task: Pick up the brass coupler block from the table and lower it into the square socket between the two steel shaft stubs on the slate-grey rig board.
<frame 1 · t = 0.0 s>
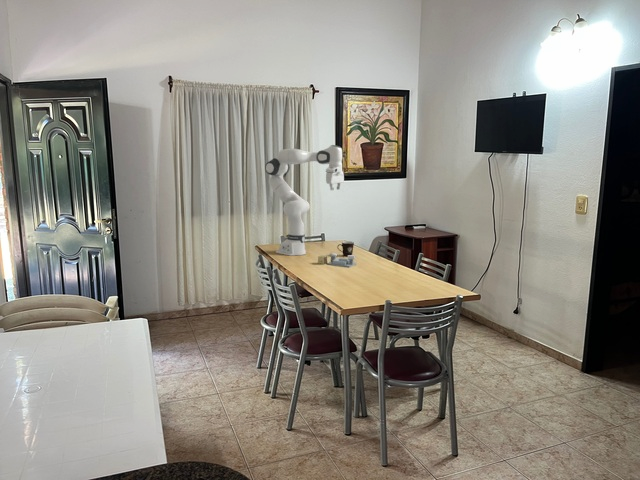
hand: (335, 189, 341), 48 cm above the table, fingers open, 8 cm apart
coupler: (322, 263, 332), on the table
coffee mug: (345, 256, 358), on the table
shaft rig: (341, 264, 331), on the table
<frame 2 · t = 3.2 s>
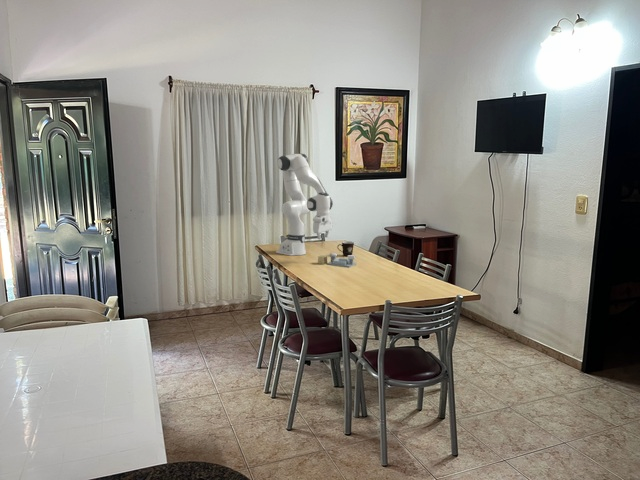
hand: (322, 238, 329), 17 cm above the table, fingers open, 8 cm apart
nothing on the table moved.
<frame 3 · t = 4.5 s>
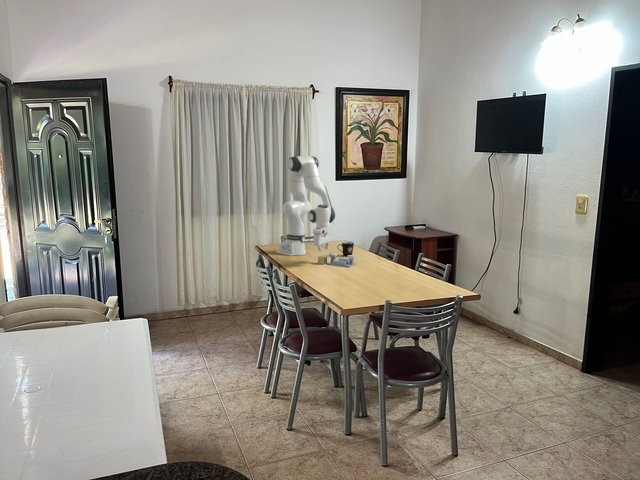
hand: (323, 250, 330), 9 cm above the table, fingers open, 8 cm apart
nothing on the table moved.
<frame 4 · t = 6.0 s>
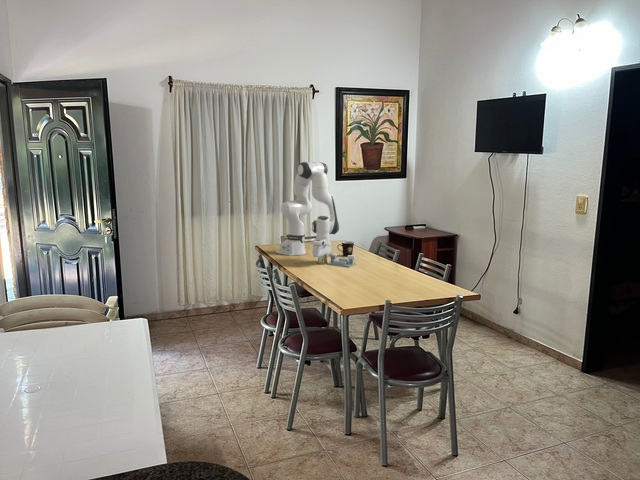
hand: (322, 261, 332), 2 cm above the table, fingers closed on coupler, 4 cm apart
coupler: (322, 263, 332), on the table, touching gripper
everything else where it was.
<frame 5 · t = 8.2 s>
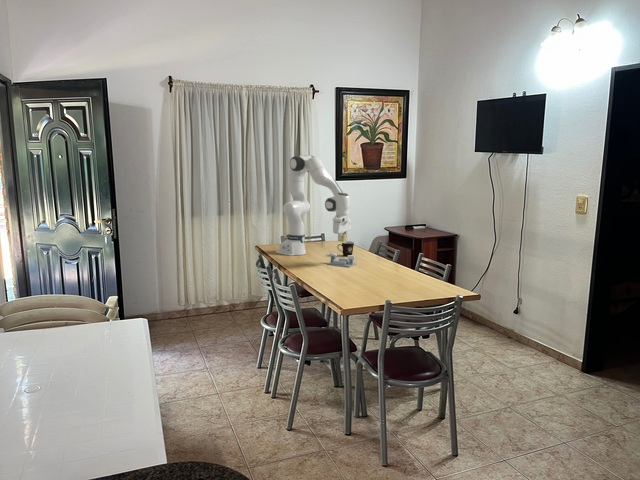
hand: (342, 238, 327), 17 cm above the table, fingers closed on coupler, 4 cm apart
coupler: (342, 241, 328), point 16 cm above the table, touching gripper
everything else where it was.
when the fingers open (4 cm above the table, at t = 10.3 s): coupler drops 1 cm, resting on shaft rig.
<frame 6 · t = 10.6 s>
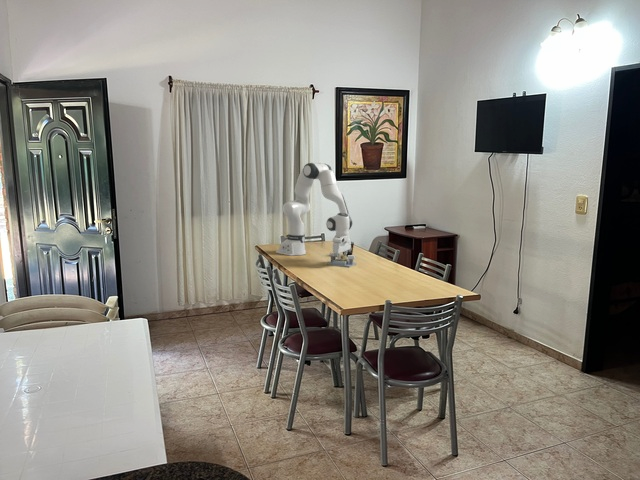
hand: (342, 258, 330), 4 cm above the table, fingers open, 7 cm apart
coupler: (341, 262, 330), point 1 cm above the table, touching shaft rig
everything else where it was.
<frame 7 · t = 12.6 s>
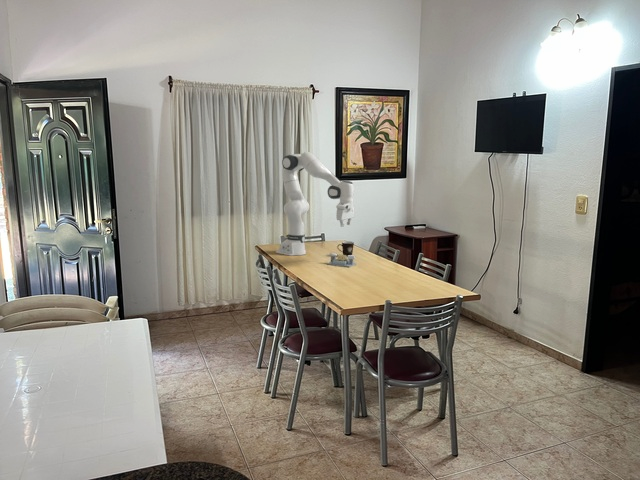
hand: (345, 225, 334), 25 cm above the table, fingers open, 8 cm apart
nothing on the table moved.
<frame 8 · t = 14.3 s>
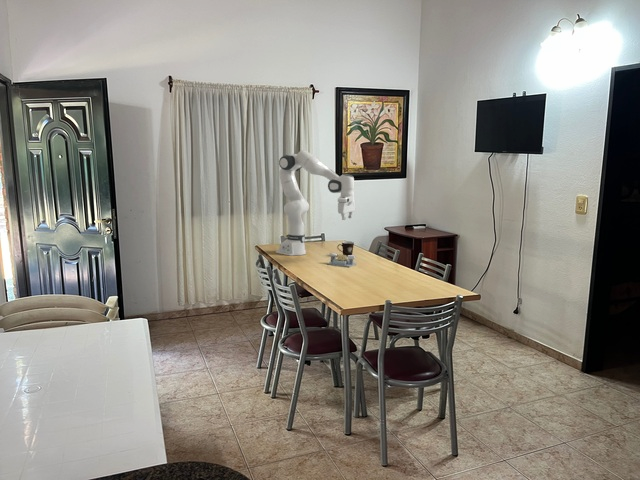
hand: (346, 219, 335), 29 cm above the table, fingers open, 8 cm apart
nothing on the table moved.
at the end: coupler 0.0 cm off-centre on the shaft rig, point 1.0 cm above the shaft rig's base; coupler tilted 0°; the gripper is holding nothing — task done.
